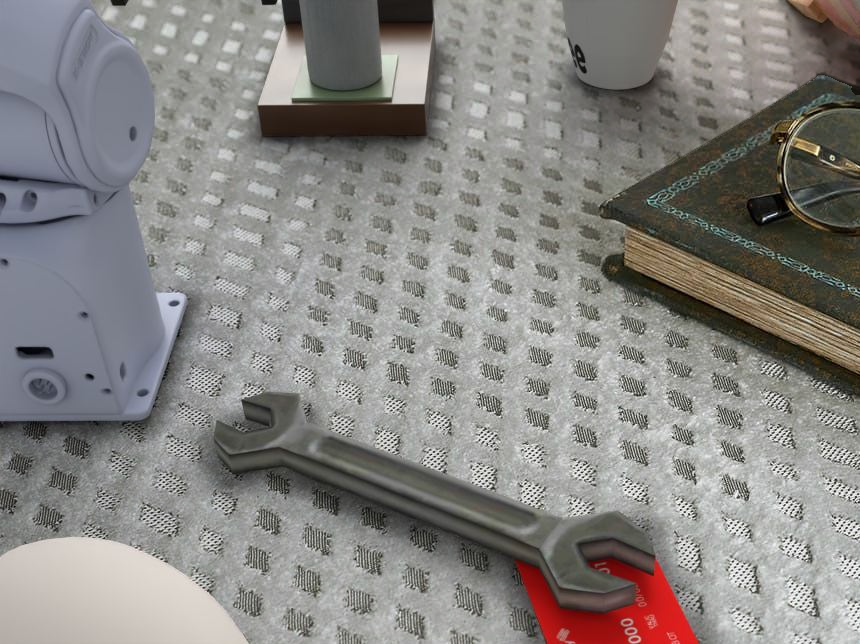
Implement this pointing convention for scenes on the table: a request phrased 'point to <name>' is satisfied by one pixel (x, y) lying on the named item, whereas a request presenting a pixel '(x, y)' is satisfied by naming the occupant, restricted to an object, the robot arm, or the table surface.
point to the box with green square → (361, 108)
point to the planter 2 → (833, 13)
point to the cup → (617, 39)
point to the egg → (103, 597)
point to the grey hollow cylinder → (342, 43)
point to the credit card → (617, 630)
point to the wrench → (445, 503)
